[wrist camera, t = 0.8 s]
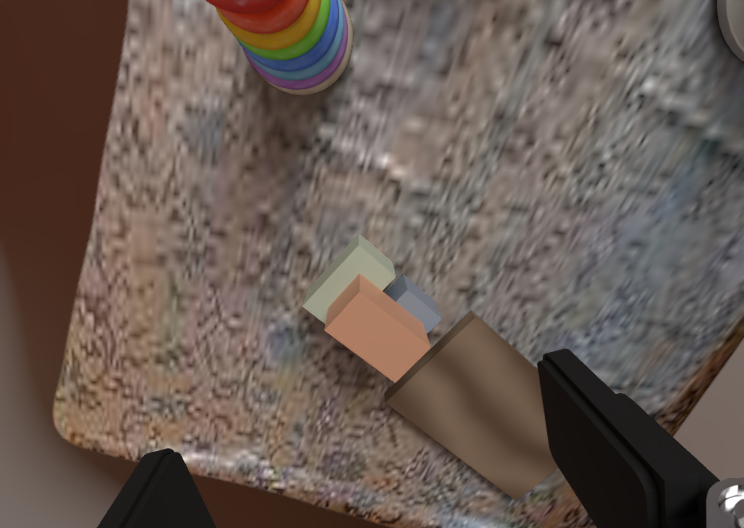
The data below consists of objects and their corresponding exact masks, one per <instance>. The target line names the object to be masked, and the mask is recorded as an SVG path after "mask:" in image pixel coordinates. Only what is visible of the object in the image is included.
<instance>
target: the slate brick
mask: <svg viewBox="0 0 744 528" xmlns="http://www.w3.org/2000/svg"><path fill="white" fill-rule="evenodd" d="M385 294H387V295H388V296H389V297H390V298H392V299H393V300H394V301H395V302H397V303H398V304H399V305H400V306H402V307H403V308H404V309H405V310H407V311H408V312H409V313H410V314H412V315H413V316H414V317H415V318H417V319H418V320H419V321H420V322H422V323H423V325H424V328H425V331H426V334H427V333H428V332H429V331H431V330H432V329H433V328H434V327H435V326H436V325H437V324H438V323H439V322H440V321H441V320H442V317H441V315H440V312H439V310H438V308H437V305H436V303H435V301H434V300H433V299H432V298H431V297H429V296H428V295H427V294H426V293H425V292H423V291H422V290H421V289H420V288H419V287H418V286H416V285H415V284H414V283H413V282H412V281H411V280H409V279H408V278H407V277H406V276H405V275H404V274H403V275H402V276H401V277H400V278H399V279H398V280H397V281H396V282H395V283H394V284H393V285H392V286H391V287H390V288H389V289H388V290H387V291H386V293H385Z"/></svg>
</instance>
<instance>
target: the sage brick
mask: <svg viewBox="0 0 744 528" xmlns="http://www.w3.org/2000/svg"><path fill="white" fill-rule="evenodd" d="M359 273H360V274H362V275H363V276H364V277H365V278H367V279H368V280H369V281H370V282H372V283H373V284H374V285H375V286H377V287H378V288H379V289H380V290H382V291H383V290H384V289H385V288H386V286H387V285H388V284H389V283H390V282H391V281H392V280H393V279H394V278H395V277H396V275H395V271H394V267H393V263H392V262H391V261H390V260H389V259H388V258H387V257H386V256H384V255H383V254H382V253H381V252H380V251H379V250H378V249H376V248H375V247H374V246H373V245H372V244H371V243H369V242H368V241H367V240H366V239H365V238H364V237H363V236H361V235H360V234H358V235H357V236H356V237H355V238H354V239H353V240H352V242H351V243H350V244H349V245H348V246H347V247H346V248H345V249H344V250H343V251H342V253H341V254H340V255H339V256H338V257H337V258H336V259H335V260H334V261H333V262H332V263H331V265H330V266H329V267H328V268H327V269H326V270H325V271H324V272H323V273H322V274H321V275H320V277H319V278H318V279H317V280H316V281H315V282H314V283H313V284H312V285H311V286H310V287H309V289H308V291H307V294H306V297H305V300H304V303H303V306H302V307H304V308H305V309H306V310H308V311H309V312H310V313H311V314H313V315H314V316H315V317H317V318H318V319H319V320H320V321H322V322H323V323H324V324H326V318H327V312H328V308H329V307H330V305H331V304H332V303H333V302H334V301H335V300H336V299H337V298H338V297H339V295H340V294H341V293H342V292H343V291H344V290H345V289H346V288H347V287H348V285H349V284H350V283H351V282H352V281H353V280H354V279H355V278H356V277H357V275H358V274H359Z"/></svg>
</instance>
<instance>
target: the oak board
mask: <svg viewBox="0 0 744 528" xmlns="http://www.w3.org/2000/svg"><path fill="white" fill-rule="evenodd" d="M385 403H387V404H388V405H389V406H391V407H392V408H393V409H395V410H396V411H397V412H399V413H400V414H401V415H403V416H404V417H405V418H407V419H408V420H409V421H411V422H412V423H413V424H415V425H416V426H417V427H419V428H420V429H421V430H423V431H424V432H425V433H427V434H428V435H429V436H431V437H432V438H433V439H435V440H436V441H437V442H439V443H440V444H441V445H443V446H444V447H445V448H447V449H448V450H449V451H451V452H452V453H453V454H455V455H456V456H457V457H459V458H460V459H461V460H463V461H464V462H465V463H467V464H468V465H469V466H470V467H472V468H473V469H474V470H476V471H477V472H478V473H480V474H481V475H482V476H484V477H485V478H486V479H488V480H489V481H490V482H492V483H493V484H494V485H496V486H497V487H498V488H500V489H501V490H502V491H504V492H505V493H506V494H508V495H509V496H510V497H512V498H513V499H514V500H516V501H517V500H518V499H519V498H521V497H522V496H523V495H524V494H526V493H527V492H528V491H529V490H531V489H532V488H533V487H535V486H536V485H537V484H538V483H540V482H541V481H542V480H543V479H545V478H546V477H547V476H548V475H550V474H551V473H552V472H553V471H555V470H556V469H557V468H559V467H558V466H557V464H556V463H555V461H554V459H553V457H552V454H551V452H550V449H549V443H548V436H547V430H546V423H545V416H544V409H543V402H542V395H541V388H540V381H539V374H538V369H537V368H536V367H535V366H534V365H533V364H532V363H530V362H529V361H528V360H527V359H526V358H525V357H524V356H522V355H521V354H520V353H519V352H518V351H517V350H516V349H514V348H513V347H512V346H511V345H510V344H509V343H508V342H506V341H505V340H504V339H503V338H502V337H501V336H500V335H499V334H497V333H496V332H495V331H494V330H493V329H492V328H491V327H489V326H488V325H487V324H486V323H485V322H484V321H483V320H481V319H480V318H479V317H478V316H477V315H476V314H475V313H473V312H472V311H470V312H469V313H468V314H467V315H466V316H465V317H464V318H463V319H462V320H461V321H460V322H458V323H457V324H456V325H455V326H454V327H453V328H452V329H451V330H450V331H449V332H448V333H447V334H446V335H445V336H444V337H443V338H442V339H441V340H440V341H439V342H438V343H437V344H435V345H434V346H433V347H432V348H431V349H430V350H429V351H428V352H427V353H426V354H425V355H424V356H423V357H422V358H421V359H420V360H419V361H418V362H417V363H416V364H415V365H414V366H412V367H411V368H410V369H409V370H408V371H407V372H406V373H405V374H404V375H403V376H402V377H401V378H400V379H399V380H398V381H397V382H396V383H395V384H394V385H393V386H392V387H390V388H389V389H388V390H387V391H386V392H385Z"/></svg>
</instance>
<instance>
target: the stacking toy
mask: <svg viewBox="0 0 744 528" xmlns="http://www.w3.org/2000/svg"><path fill="white" fill-rule="evenodd" d="M206 1H207V2H209V3H210V4H212V5H214V6H215V7H216V10H217V12H218V14H219V16H220V18H221V19H222V21H223V22H224V24H225V25H226V26H227V28H228V29H229V30H230V31H231V32H232V33H233V35H234V36H235V37H236V38H237V40H238V42H239V43H240V45H241V46H242V48H243V50H244V52H245V55H246V56H247V58H248V60H249V62H250V63H251V65H252V66H253V67H254V69H255V70H256V71H257V72H258V73H259V74H260V75H261V76H262V77H263V78H264V79H265V80H266V81H267V82H268V83H269V84H271V85H272V86H274V87H275V88H277V89H279V90H281V91H283V92H286V93H289V94H294V95H309V94H314V93H317V92H320V91H322V90H324V89H326V88H328V87H329V86H331V85H332V84H333V83H334V82H335V81H336V80H337V79H338V78H339V77H340V76H341V74H342V73H343V71H344V70H345V68H346V66H347V64H348V62H349V59H350V56H351V52H352V47H353V28H352V23H351V18H350V15H349V12H348V10H347V8H346V5H345V4H344V2H343V0H206Z"/></svg>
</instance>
